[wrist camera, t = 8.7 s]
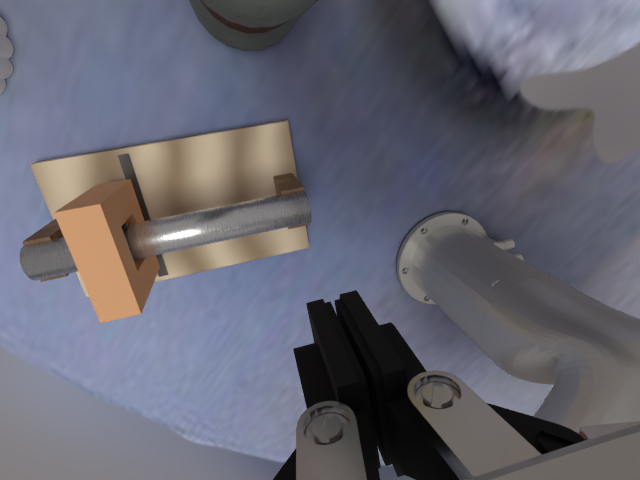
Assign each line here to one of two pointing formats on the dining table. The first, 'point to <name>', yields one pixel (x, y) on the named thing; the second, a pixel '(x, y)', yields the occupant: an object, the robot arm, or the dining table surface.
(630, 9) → the dining table surface
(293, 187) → the pipe stand
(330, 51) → the dining table surface
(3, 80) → the mooncake
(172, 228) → the pipe
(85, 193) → the collar
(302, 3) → the bottle
